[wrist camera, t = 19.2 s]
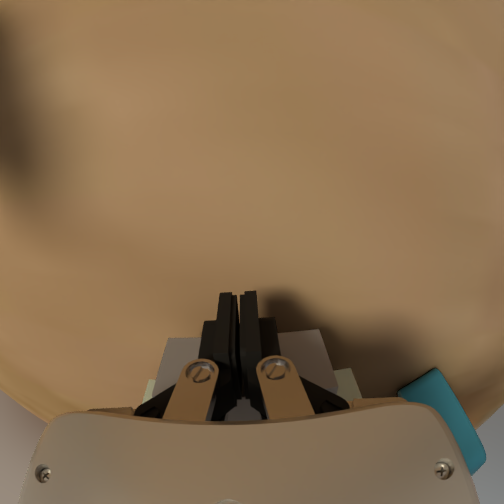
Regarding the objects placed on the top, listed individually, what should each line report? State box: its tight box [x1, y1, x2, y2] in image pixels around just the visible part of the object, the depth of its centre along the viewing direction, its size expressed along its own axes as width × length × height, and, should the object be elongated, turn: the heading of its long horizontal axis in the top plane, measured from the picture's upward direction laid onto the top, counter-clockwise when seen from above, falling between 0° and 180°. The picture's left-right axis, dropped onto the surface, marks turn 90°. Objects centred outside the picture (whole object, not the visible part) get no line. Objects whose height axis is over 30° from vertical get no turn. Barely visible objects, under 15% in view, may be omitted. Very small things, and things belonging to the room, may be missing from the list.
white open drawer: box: [142, 329, 362, 421], centre depth 17 cm, size 14×25×6 cm, turn 4°
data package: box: [397, 368, 486, 476], centre depth 17 cm, size 12×4×12 cm, turn 33°
